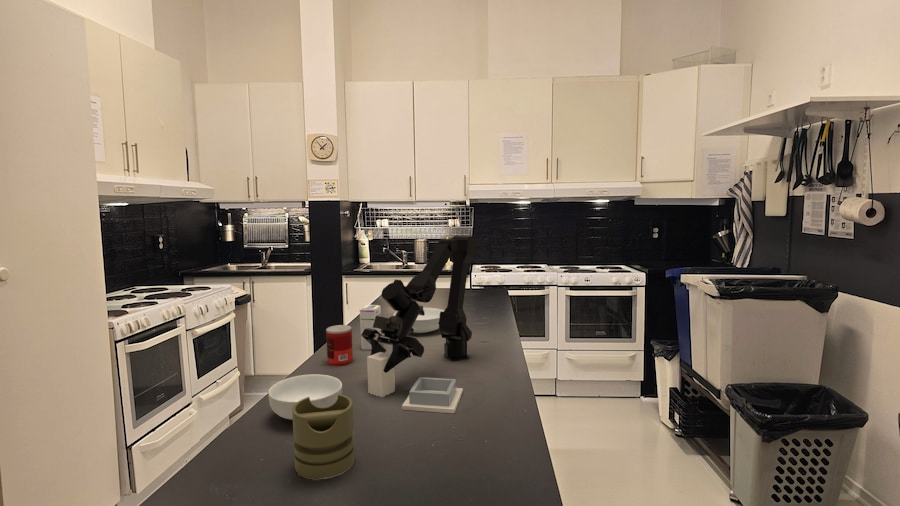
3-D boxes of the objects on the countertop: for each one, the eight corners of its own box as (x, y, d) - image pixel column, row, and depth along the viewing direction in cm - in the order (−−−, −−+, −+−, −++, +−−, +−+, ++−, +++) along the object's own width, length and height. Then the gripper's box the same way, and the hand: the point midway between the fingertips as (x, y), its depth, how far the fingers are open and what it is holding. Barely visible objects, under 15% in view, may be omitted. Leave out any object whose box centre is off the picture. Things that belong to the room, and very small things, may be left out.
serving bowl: (457, 327, 193) (457, 310, 192) (427, 341, 176) (426, 322, 175) (415, 320, 204) (414, 304, 204) (382, 333, 187) (382, 315, 186)
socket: (415, 388, 132) (415, 374, 132) (462, 392, 130) (462, 377, 129) (402, 409, 120) (401, 393, 119) (454, 413, 117) (454, 397, 117)
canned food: (357, 359, 157) (356, 325, 156) (344, 367, 150) (342, 332, 148) (336, 356, 160) (335, 324, 158) (322, 364, 152) (321, 330, 151)
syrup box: (377, 350, 166) (375, 308, 164) (360, 349, 167) (359, 308, 165) (382, 345, 171) (381, 304, 169) (366, 344, 172) (365, 304, 171)
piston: (295, 396, 99) (352, 391, 101) (298, 452, 100) (354, 446, 103) (289, 421, 88) (353, 414, 90) (292, 484, 89) (355, 476, 92)
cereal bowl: (275, 438, 106) (273, 407, 106) (265, 408, 121) (263, 381, 120) (351, 420, 114) (350, 391, 113) (333, 395, 129) (332, 369, 128)
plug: (381, 387, 134) (380, 351, 133) (395, 391, 131) (394, 355, 130) (368, 393, 130) (367, 356, 129) (381, 397, 127) (380, 360, 126)
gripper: (365, 299, 136) (335, 348, 129) (416, 308, 125) (387, 361, 118) (385, 321, 143) (358, 368, 136) (435, 331, 132) (409, 383, 125)
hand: (377, 369), depth 128 cm, fingers closed on plug, 5 cm apart
